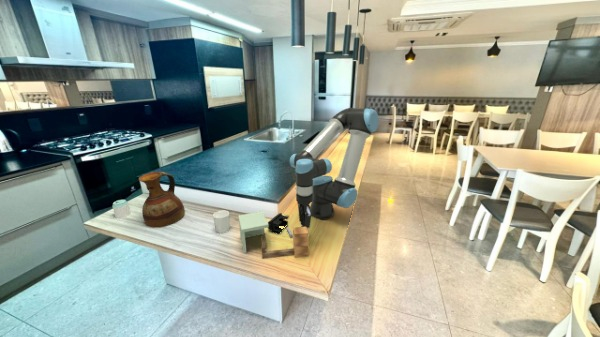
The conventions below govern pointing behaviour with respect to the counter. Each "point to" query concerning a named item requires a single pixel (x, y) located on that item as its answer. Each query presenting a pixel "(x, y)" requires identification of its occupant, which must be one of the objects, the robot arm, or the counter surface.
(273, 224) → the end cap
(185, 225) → the counter surface
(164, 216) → the ceramic pitcher
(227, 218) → the white cup
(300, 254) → the wooden desk organizer
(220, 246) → the counter surface
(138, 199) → the counter surface
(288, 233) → the stop strip
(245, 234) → the cubby shelf
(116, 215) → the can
